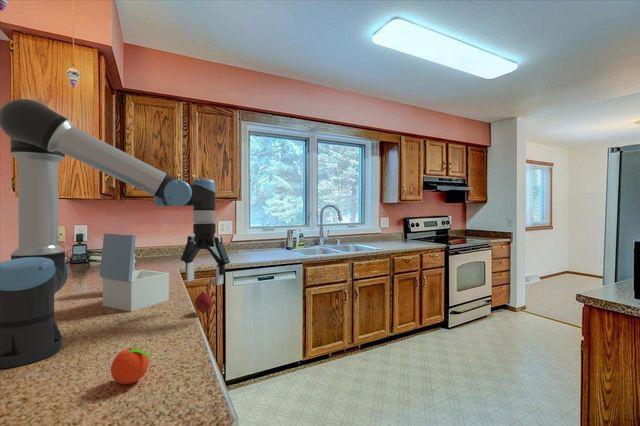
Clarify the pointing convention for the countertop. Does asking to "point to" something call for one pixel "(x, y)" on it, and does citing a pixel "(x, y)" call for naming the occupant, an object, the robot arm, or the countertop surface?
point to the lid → (117, 257)
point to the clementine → (129, 365)
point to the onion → (203, 302)
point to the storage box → (136, 290)
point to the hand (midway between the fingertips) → (204, 282)
